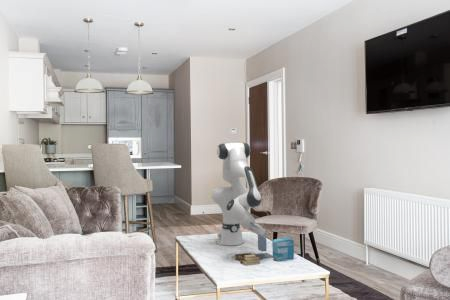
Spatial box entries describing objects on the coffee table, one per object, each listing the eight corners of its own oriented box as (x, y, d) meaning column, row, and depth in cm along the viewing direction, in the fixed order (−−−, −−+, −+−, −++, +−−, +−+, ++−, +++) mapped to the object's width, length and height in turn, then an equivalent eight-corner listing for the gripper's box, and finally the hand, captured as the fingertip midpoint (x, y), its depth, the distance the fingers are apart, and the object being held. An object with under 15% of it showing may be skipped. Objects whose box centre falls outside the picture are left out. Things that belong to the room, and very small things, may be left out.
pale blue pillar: (258, 249, 278) (257, 228, 277) (262, 249, 279) (262, 228, 279) (261, 251, 272) (261, 229, 272) (266, 251, 273) (266, 229, 273)
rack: (234, 259, 269) (234, 254, 269) (250, 257, 273) (250, 252, 273) (241, 263, 260) (240, 258, 260) (257, 261, 264) (256, 256, 264)
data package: (276, 261, 263) (275, 240, 263) (272, 259, 267) (272, 239, 267) (294, 259, 268) (293, 238, 267) (290, 257, 272) (289, 237, 272)
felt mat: (250, 255, 278) (250, 254, 278) (266, 253, 282) (266, 252, 282) (257, 259, 269) (257, 258, 269) (274, 257, 273) (274, 256, 273)
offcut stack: (242, 263, 260) (242, 255, 260) (256, 261, 263) (256, 254, 263) (245, 265, 256) (245, 257, 255) (260, 263, 259) (259, 255, 259)
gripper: (258, 220, 263) (273, 235, 267) (244, 215, 282) (259, 229, 286) (251, 228, 262) (267, 243, 265) (237, 223, 281) (252, 237, 284)
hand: (262, 236), depth 276 cm, fingers closed on pale blue pillar, 5 cm apart
